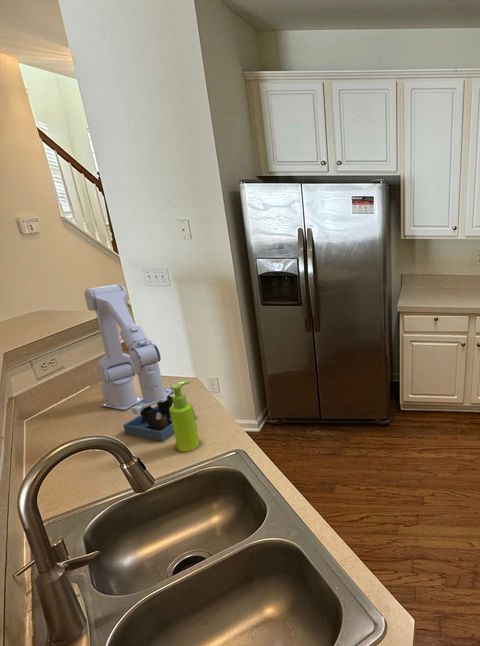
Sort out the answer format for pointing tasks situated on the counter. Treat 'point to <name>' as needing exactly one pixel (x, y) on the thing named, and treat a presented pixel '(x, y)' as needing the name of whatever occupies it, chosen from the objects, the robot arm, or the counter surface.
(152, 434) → the grid
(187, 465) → the counter surface
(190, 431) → the soap dispenser
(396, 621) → the counter surface
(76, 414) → the counter surface
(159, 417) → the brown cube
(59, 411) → the counter surface
